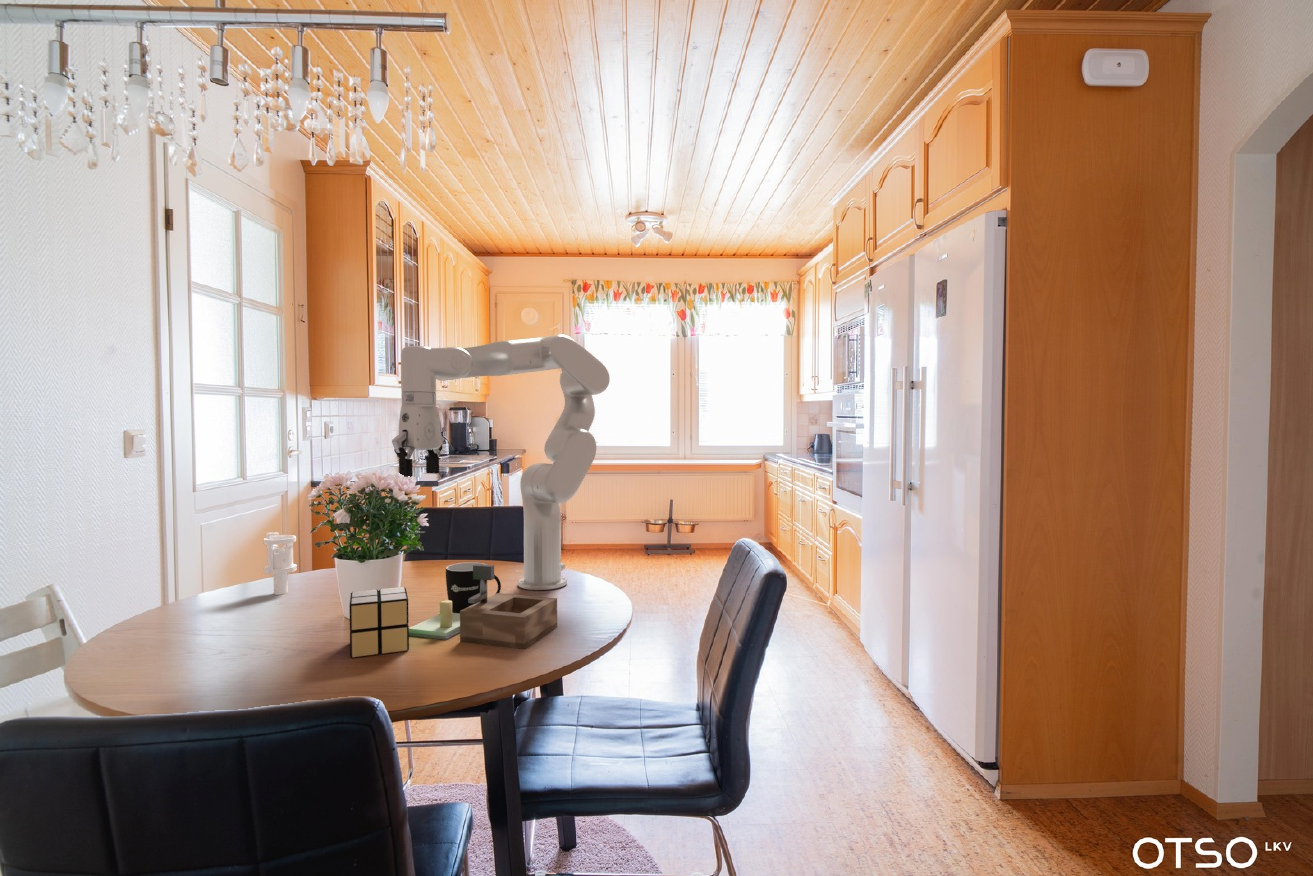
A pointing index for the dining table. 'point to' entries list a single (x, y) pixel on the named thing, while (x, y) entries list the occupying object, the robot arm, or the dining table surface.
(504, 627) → the case
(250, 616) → the dining table surface
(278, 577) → the white cylindrical part
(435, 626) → the cover
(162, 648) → the dining table surface
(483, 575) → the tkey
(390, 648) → the puzzle cube
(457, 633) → the mat
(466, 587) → the mug
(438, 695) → the dining table surface
